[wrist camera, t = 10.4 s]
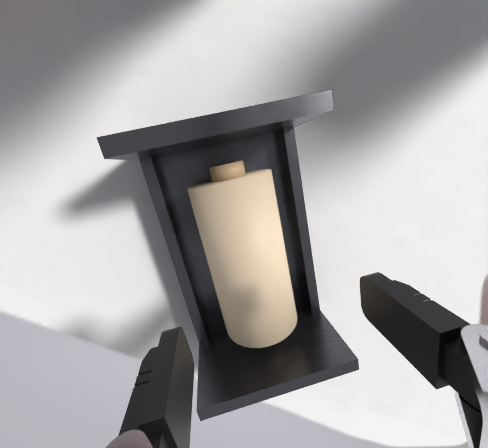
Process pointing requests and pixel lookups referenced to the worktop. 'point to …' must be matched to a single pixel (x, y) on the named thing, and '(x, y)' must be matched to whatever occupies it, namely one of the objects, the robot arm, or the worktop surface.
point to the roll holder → (194, 258)
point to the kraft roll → (246, 253)
